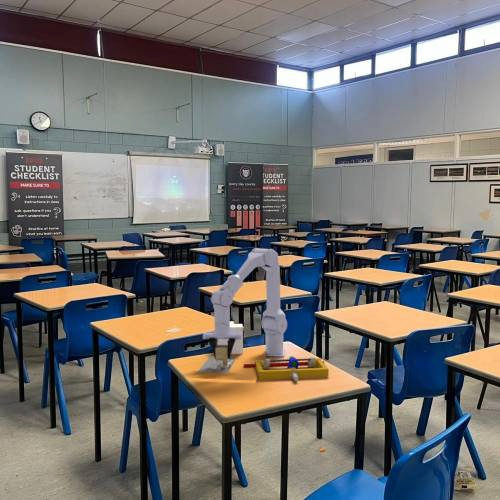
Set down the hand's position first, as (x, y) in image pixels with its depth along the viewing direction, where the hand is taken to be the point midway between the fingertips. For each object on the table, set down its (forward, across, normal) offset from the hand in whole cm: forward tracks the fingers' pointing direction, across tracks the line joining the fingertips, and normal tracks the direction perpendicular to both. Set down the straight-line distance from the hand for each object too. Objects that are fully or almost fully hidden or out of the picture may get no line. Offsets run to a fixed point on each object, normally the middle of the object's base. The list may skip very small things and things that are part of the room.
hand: (222, 358), depth 191 cm
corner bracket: (+4, -2, +20) cm, 20 cm away
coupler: (+2, 0, 0) cm, 2 cm away
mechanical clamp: (+4, +24, -5) cm, 25 cm away
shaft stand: (+4, -2, +1) cm, 4 cm away
